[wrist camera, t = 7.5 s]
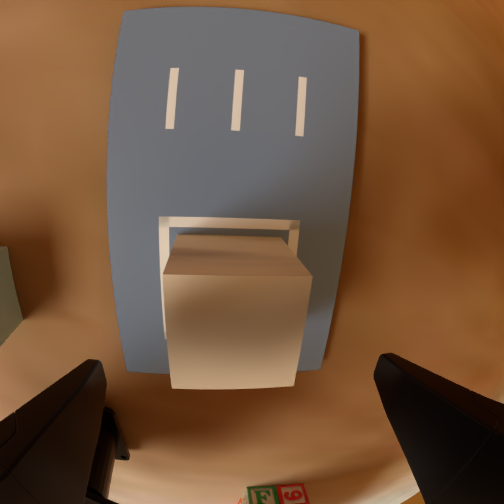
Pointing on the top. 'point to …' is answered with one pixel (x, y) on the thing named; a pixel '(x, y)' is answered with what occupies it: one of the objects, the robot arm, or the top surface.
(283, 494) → the stack of blocks
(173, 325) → the maple block
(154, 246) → the blueprint board
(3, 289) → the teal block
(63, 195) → the top surface
